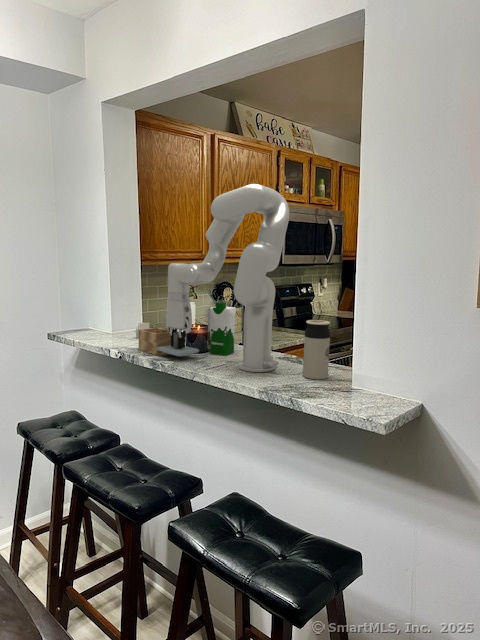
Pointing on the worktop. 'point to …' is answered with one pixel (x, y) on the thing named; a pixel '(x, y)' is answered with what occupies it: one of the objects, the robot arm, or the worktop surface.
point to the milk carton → (222, 329)
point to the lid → (175, 349)
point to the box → (154, 340)
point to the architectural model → (141, 328)
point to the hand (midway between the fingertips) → (178, 346)
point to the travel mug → (316, 350)
